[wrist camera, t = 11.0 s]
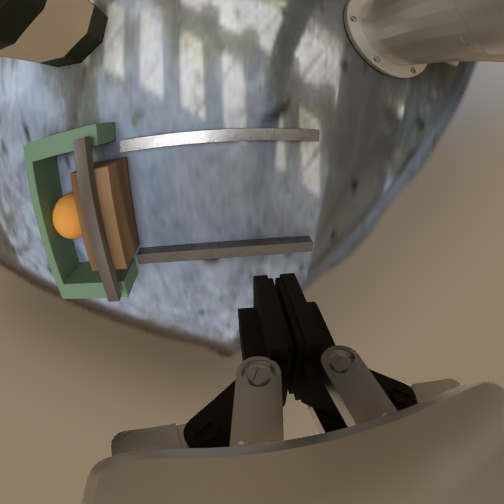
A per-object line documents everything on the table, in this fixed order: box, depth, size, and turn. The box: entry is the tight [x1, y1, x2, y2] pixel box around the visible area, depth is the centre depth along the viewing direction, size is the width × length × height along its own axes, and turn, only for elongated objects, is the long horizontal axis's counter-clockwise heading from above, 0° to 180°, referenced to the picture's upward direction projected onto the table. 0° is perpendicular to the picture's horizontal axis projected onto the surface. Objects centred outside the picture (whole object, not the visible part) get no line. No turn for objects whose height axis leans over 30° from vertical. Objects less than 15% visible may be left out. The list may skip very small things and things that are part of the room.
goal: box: [23, 122, 138, 299], centre depth 25 cm, size 9×18×5 cm, turn 1°
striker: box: [70, 136, 139, 301], centre depth 24 cm, size 4×16×7 cm, turn 1°
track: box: [120, 128, 319, 264], centre depth 28 cm, size 20×14×2 cm
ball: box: [52, 193, 83, 239], centre depth 25 cm, size 5×5×5 cm
